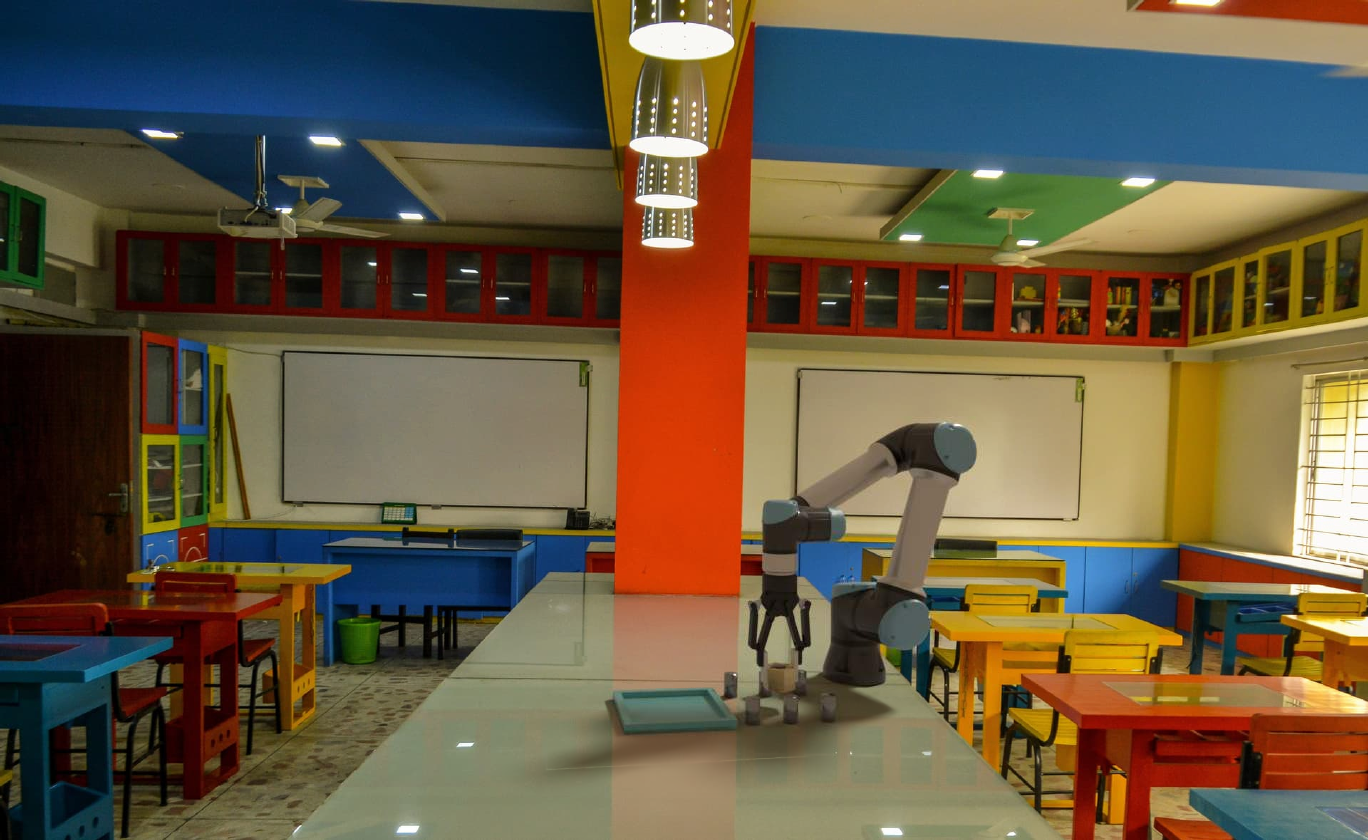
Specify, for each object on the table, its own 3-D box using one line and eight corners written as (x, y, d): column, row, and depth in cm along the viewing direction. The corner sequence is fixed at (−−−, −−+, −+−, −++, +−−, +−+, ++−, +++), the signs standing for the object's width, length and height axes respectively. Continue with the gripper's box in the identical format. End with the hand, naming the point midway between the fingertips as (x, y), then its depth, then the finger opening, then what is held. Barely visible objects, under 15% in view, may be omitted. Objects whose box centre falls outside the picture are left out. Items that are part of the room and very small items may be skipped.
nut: (787, 682, 182) (787, 661, 182) (797, 691, 175) (797, 669, 175) (761, 683, 181) (761, 662, 181) (770, 693, 174) (770, 671, 174)
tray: (712, 695, 185) (712, 687, 185) (737, 729, 164) (737, 719, 164) (612, 698, 181) (612, 690, 181) (624, 734, 159) (625, 724, 159)
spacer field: (803, 691, 190) (804, 669, 190) (837, 721, 169) (838, 697, 169) (722, 694, 186) (722, 671, 186) (747, 725, 166) (747, 700, 166)
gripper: (815, 568, 184) (815, 673, 184) (732, 570, 180) (731, 678, 180) (828, 574, 177) (827, 683, 176) (741, 576, 173) (740, 688, 173)
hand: (779, 680), depth 178 cm, fingers closed on nut, 6 cm apart
